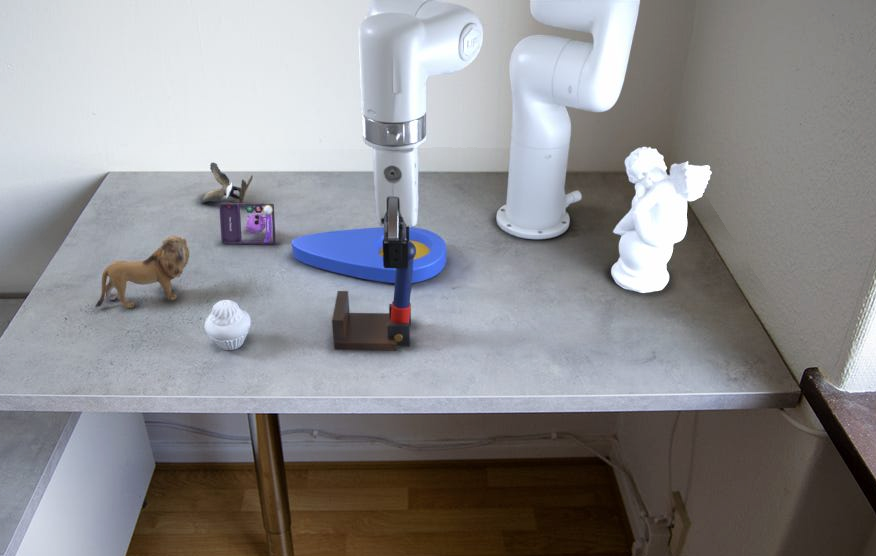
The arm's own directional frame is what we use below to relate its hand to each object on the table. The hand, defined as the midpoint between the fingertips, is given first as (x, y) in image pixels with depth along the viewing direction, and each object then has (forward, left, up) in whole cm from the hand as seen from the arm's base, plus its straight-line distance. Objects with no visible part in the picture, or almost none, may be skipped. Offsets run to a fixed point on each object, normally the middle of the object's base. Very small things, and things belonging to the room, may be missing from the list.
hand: (396, 259), depth 101 cm
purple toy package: (+5, -37, -13) cm, 39 cm away
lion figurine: (+25, -30, -13) cm, 41 cm away
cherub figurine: (-40, +11, -13) cm, 44 cm away
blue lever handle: (-2, +1, -4) cm, 5 cm away
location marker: (-7, -19, -13) cm, 24 cm away
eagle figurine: (+3, -52, -13) cm, 54 cm away
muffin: (+20, -12, -13) cm, 26 cm away
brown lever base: (+3, -2, -12) cm, 13 cm away
